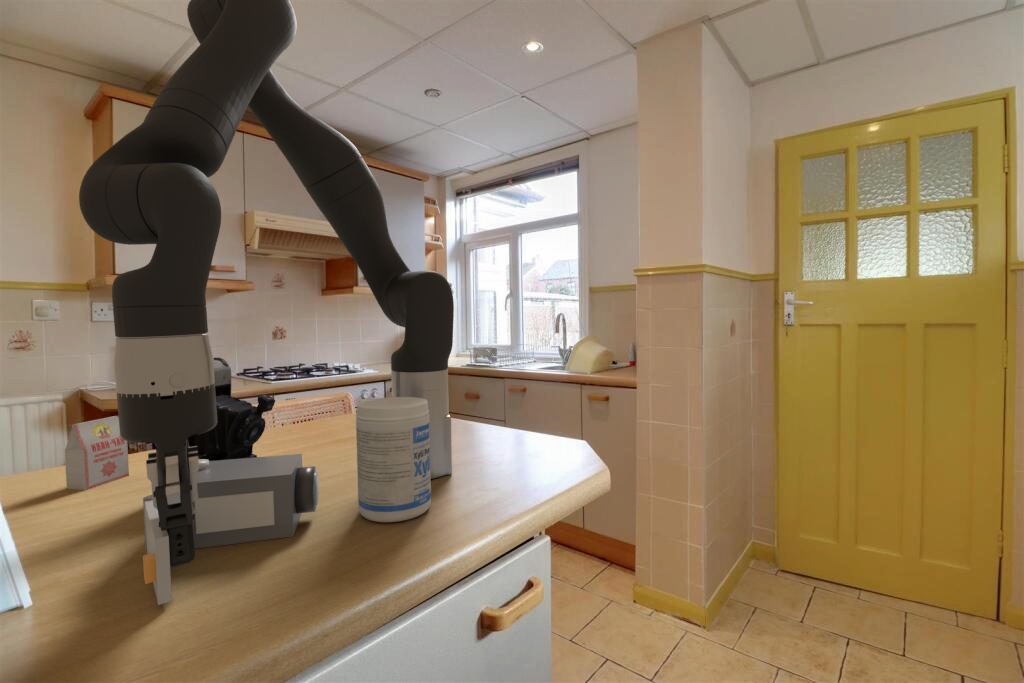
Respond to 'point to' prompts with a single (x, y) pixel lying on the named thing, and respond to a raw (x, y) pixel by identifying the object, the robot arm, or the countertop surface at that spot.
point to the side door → (156, 553)
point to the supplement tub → (393, 458)
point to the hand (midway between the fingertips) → (181, 561)
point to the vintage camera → (231, 421)
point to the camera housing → (252, 499)
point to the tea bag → (95, 454)
